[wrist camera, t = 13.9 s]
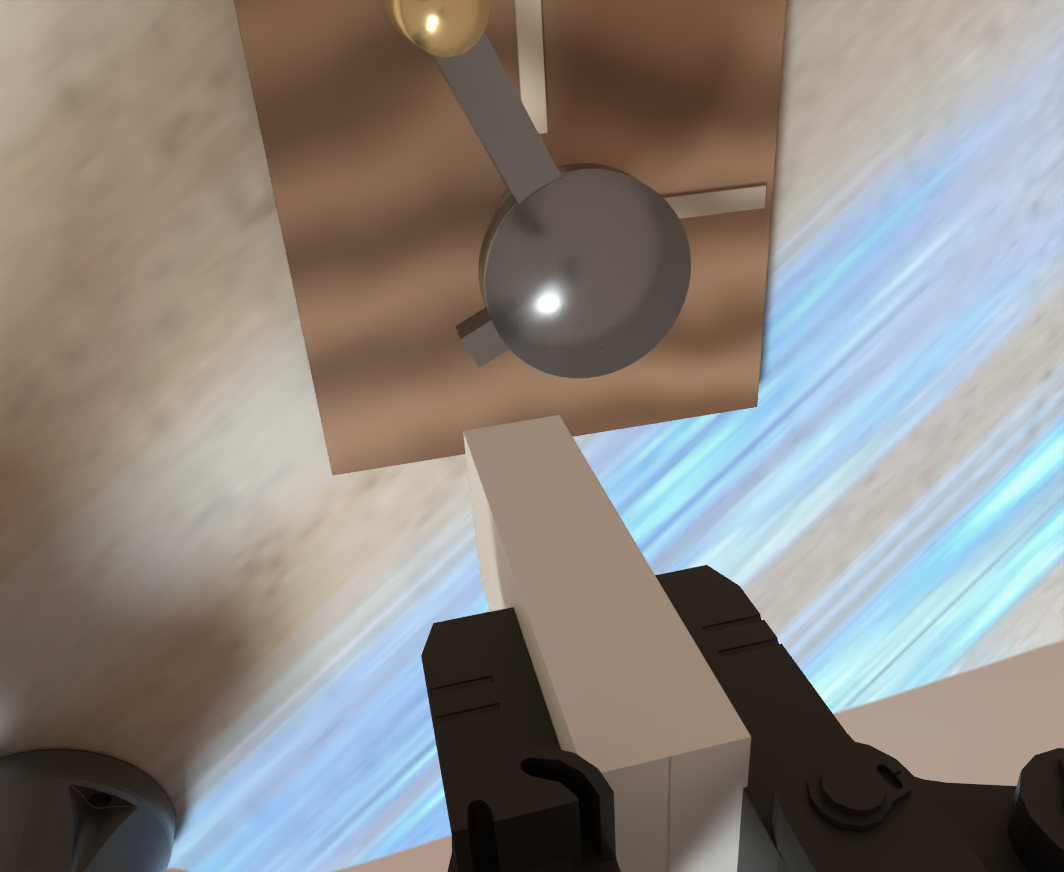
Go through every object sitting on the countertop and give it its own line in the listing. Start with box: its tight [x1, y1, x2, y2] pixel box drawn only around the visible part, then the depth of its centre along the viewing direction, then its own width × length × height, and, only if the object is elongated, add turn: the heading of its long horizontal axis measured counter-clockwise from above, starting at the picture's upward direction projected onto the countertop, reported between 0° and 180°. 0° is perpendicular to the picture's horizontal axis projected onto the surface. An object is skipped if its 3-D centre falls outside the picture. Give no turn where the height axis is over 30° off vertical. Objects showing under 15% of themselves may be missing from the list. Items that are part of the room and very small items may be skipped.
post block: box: [234, 0, 786, 475], centre depth 42 cm, size 26×26×9 cm
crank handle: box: [381, 0, 691, 378], centre depth 37 cm, size 10×18×11 cm, turn 30°
